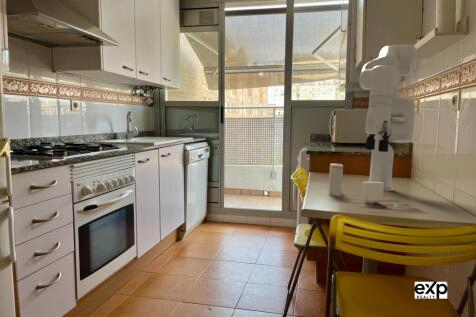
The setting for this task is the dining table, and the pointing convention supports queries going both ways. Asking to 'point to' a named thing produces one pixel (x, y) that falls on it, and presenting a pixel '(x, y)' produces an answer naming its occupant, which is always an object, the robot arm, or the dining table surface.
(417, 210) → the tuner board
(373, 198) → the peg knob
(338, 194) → the supplement box
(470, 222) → the dining table surface
